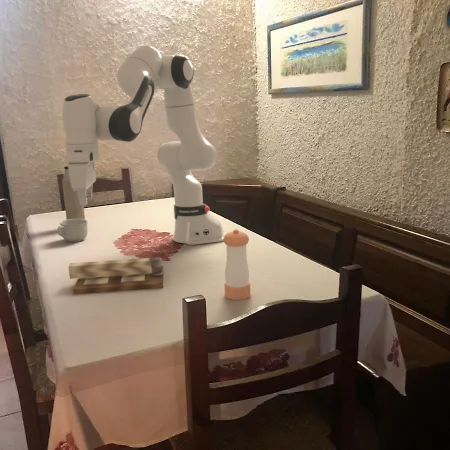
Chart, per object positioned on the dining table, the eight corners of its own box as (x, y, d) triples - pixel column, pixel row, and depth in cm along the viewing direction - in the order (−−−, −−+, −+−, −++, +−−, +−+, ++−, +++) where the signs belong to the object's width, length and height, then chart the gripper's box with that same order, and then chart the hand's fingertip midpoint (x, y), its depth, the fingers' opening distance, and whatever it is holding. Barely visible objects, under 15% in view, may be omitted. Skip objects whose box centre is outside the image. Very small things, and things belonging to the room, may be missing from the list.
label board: (163, 269, 159) (162, 263, 159) (163, 287, 144) (162, 280, 143) (82, 275, 156) (81, 269, 156) (73, 294, 141) (72, 287, 140)
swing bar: (162, 268, 153) (161, 256, 152) (162, 272, 149) (161, 260, 148) (71, 274, 150) (70, 262, 149) (69, 279, 146) (68, 266, 145)
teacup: (79, 235, 206) (77, 217, 204) (94, 239, 199) (92, 220, 197) (49, 242, 196) (47, 223, 194) (64, 247, 189) (62, 227, 187)
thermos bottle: (88, 225, 221) (82, 165, 214) (80, 230, 214) (73, 167, 207) (73, 225, 223) (66, 165, 216) (64, 229, 215) (56, 167, 208)
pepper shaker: (249, 289, 140) (248, 226, 135) (251, 299, 133) (250, 232, 128) (224, 290, 140) (222, 226, 135) (225, 300, 133) (223, 233, 128)
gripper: (77, 151, 145) (81, 196, 148) (63, 157, 125) (68, 209, 129) (98, 150, 146) (102, 195, 149) (88, 156, 126) (92, 208, 129)
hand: (86, 202), depth 139 cm, fingers open, 8 cm apart
